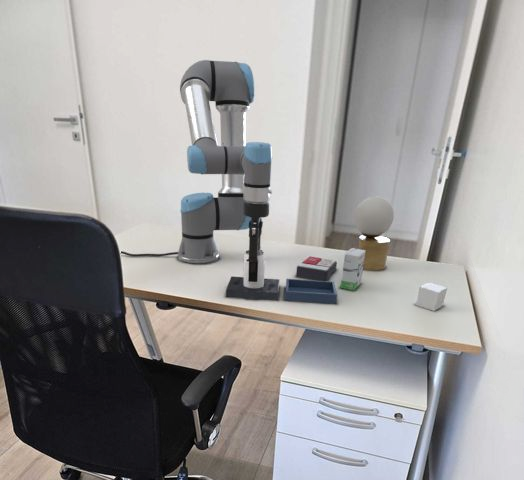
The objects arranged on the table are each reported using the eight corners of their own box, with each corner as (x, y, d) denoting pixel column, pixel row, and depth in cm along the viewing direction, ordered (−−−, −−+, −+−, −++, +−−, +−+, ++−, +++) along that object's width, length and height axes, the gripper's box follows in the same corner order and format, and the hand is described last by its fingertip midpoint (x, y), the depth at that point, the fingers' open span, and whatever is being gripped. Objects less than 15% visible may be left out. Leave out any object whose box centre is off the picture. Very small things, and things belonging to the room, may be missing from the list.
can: (267, 289, 140) (269, 252, 134) (253, 294, 136) (255, 256, 130) (253, 283, 144) (254, 248, 138) (239, 288, 140) (239, 251, 134)
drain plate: (225, 297, 134) (225, 290, 133) (231, 282, 146) (231, 275, 145) (277, 301, 134) (278, 293, 133) (279, 285, 145) (279, 278, 144)
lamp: (340, 260, 173) (349, 193, 161) (370, 257, 178) (381, 192, 166) (363, 272, 161) (374, 201, 149) (394, 268, 166) (407, 200, 154)
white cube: (442, 305, 136) (447, 287, 133) (434, 311, 132) (438, 292, 129) (424, 300, 140) (428, 282, 137) (415, 304, 136) (419, 286, 133)
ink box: (353, 291, 144) (359, 256, 138) (339, 288, 146) (344, 253, 140) (361, 283, 151) (366, 249, 145) (347, 280, 152) (351, 247, 147)
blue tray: (284, 300, 134) (285, 291, 133) (285, 287, 145) (286, 278, 143) (335, 303, 134) (337, 294, 132) (333, 290, 144) (334, 281, 142)
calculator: (337, 259, 161) (327, 269, 148) (336, 271, 163) (326, 281, 150) (309, 255, 164) (296, 264, 152) (307, 266, 166) (295, 276, 154)
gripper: (267, 209, 118) (263, 289, 129) (271, 196, 135) (267, 267, 146) (239, 207, 118) (238, 287, 130) (247, 194, 135) (245, 266, 146)
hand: (253, 277), depth 138 cm, fingers closed on can, 6 cm apart
